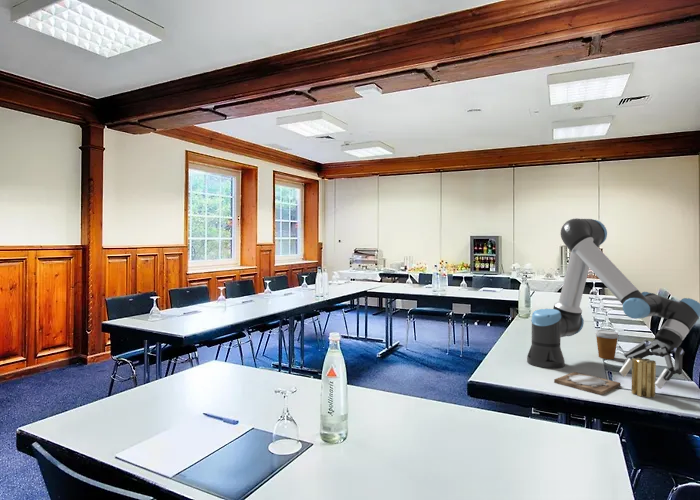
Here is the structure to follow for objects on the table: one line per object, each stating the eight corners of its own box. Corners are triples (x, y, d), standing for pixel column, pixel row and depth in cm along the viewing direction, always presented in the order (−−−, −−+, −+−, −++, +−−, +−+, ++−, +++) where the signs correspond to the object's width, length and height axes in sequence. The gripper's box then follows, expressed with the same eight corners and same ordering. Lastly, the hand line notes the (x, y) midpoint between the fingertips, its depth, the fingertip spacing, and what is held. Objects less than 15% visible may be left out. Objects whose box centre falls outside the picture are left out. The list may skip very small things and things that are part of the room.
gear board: (554, 382, 169) (554, 378, 169) (574, 374, 178) (574, 370, 178) (601, 395, 155) (601, 390, 155) (620, 385, 165) (620, 381, 165)
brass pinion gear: (628, 393, 157) (628, 359, 157) (636, 389, 161) (636, 356, 161) (650, 399, 152) (651, 364, 151) (658, 394, 156) (659, 361, 155)
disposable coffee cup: (610, 361, 198) (610, 334, 198) (590, 356, 206) (590, 330, 206) (623, 358, 202) (623, 332, 202) (602, 354, 211) (603, 329, 210)
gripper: (713, 350, 149) (680, 398, 145) (644, 334, 173) (613, 376, 168) (702, 335, 147) (668, 384, 143) (634, 321, 171) (603, 363, 167)
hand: (639, 380), depth 156 cm, fingers open, 13 cm apart
